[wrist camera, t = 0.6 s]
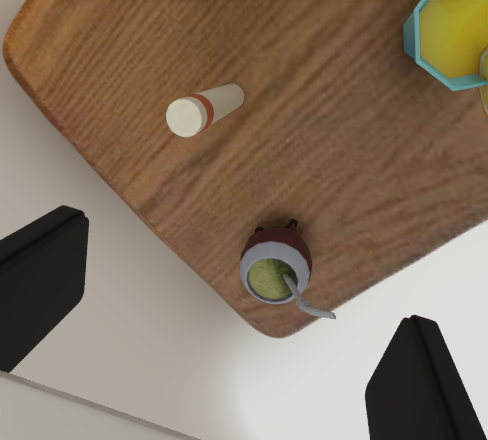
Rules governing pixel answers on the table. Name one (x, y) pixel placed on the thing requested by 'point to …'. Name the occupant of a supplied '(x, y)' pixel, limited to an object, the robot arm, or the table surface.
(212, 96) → the beige cylinder rod
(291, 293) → the mate gourd
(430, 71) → the cup
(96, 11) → the table surface
